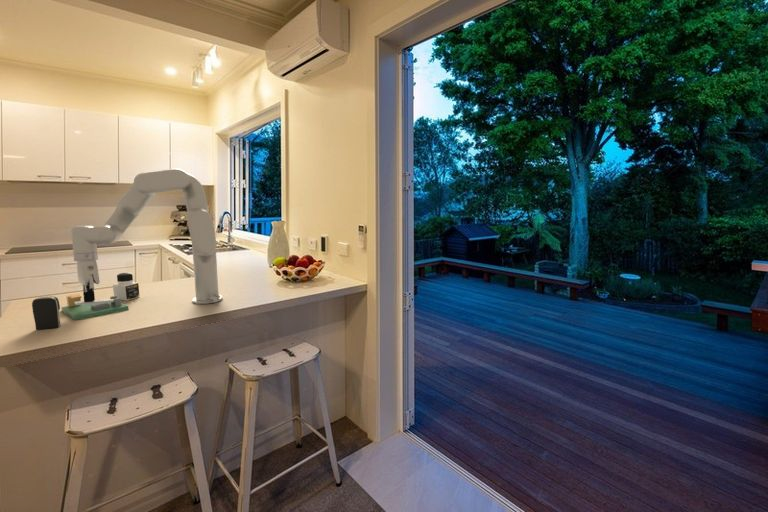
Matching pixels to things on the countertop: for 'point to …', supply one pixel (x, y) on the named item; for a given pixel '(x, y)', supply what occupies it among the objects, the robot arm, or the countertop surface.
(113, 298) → the grey flat bar
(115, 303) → the board
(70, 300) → the tan wooden block
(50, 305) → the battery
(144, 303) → the countertop surface
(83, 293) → the robot arm
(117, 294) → the medicine bottle
